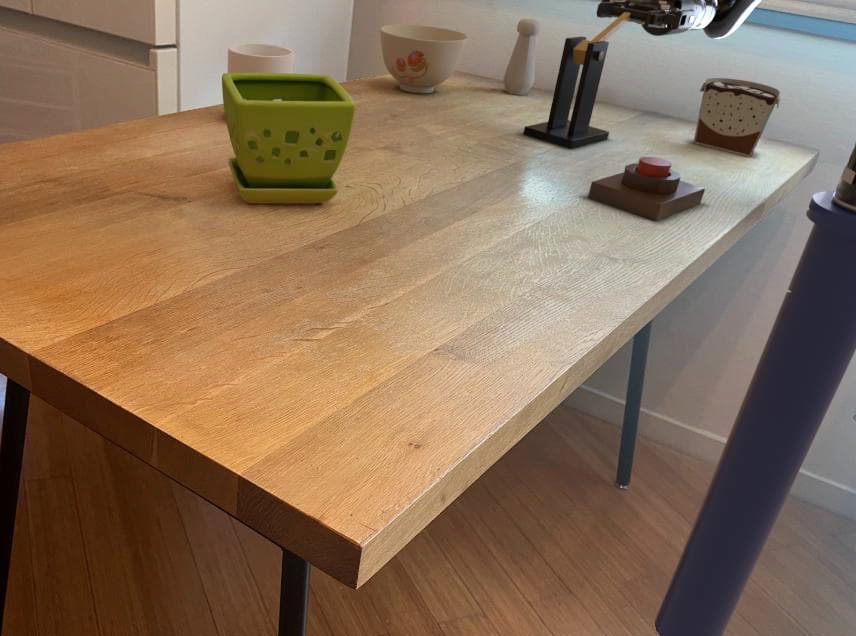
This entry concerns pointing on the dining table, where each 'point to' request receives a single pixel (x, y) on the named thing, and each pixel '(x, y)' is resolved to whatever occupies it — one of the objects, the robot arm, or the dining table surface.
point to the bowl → (421, 55)
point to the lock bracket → (578, 128)
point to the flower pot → (286, 135)
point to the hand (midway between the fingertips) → (623, 14)
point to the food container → (734, 114)
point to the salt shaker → (522, 59)
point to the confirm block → (646, 193)
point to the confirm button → (654, 166)
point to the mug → (260, 59)
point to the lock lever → (609, 30)
